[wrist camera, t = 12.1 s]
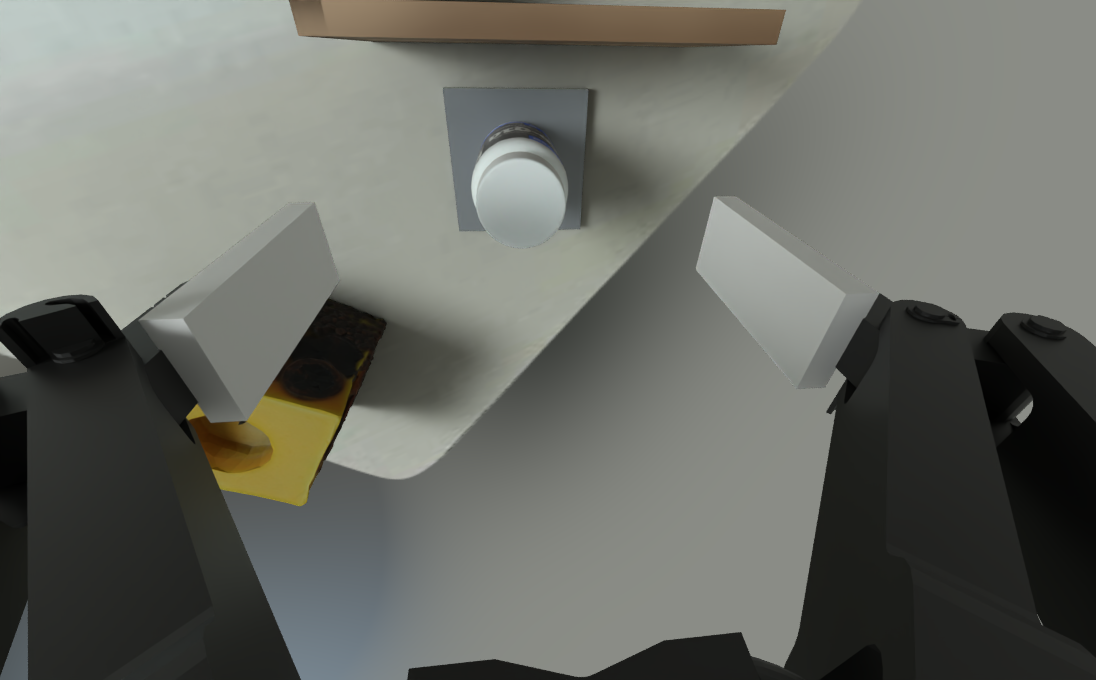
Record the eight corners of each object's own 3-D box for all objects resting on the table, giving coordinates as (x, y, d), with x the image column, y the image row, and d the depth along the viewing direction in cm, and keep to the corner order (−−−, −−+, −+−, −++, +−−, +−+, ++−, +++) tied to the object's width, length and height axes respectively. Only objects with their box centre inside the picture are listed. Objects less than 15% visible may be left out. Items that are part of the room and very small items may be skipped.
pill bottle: (562, 126, 24) (586, 157, 17) (550, 207, 26) (565, 262, 19) (480, 113, 23) (469, 139, 16) (475, 197, 25) (464, 251, 19)
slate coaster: (444, 87, 22) (442, 88, 22) (586, 88, 23) (588, 89, 23) (460, 228, 27) (459, 231, 27) (578, 226, 28) (580, 229, 27)
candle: (389, 319, 31) (348, 414, 23) (353, 406, 36) (309, 511, 27) (238, 261, 27) (124, 350, 19) (220, 367, 32) (124, 474, 24)
